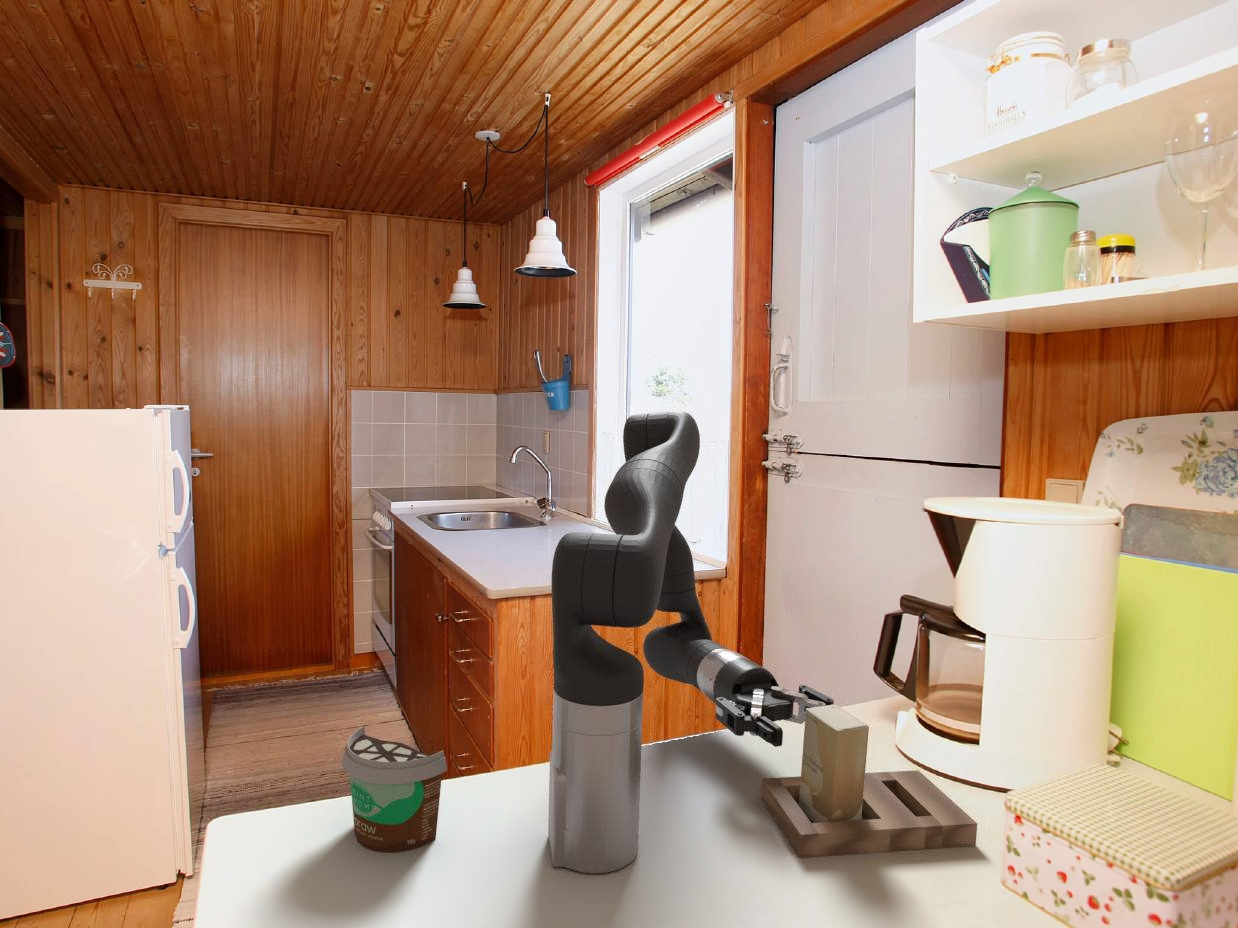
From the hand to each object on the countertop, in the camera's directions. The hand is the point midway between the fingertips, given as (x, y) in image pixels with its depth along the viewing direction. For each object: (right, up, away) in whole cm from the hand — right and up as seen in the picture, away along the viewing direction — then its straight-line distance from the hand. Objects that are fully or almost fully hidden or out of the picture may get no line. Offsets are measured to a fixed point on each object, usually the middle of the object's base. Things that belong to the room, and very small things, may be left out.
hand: (810, 732), depth 93 cm
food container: (-47, -9, -9) cm, 49 cm away
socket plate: (+5, -9, -2) cm, 11 cm away
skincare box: (+1, -9, -3) cm, 10 cm away
